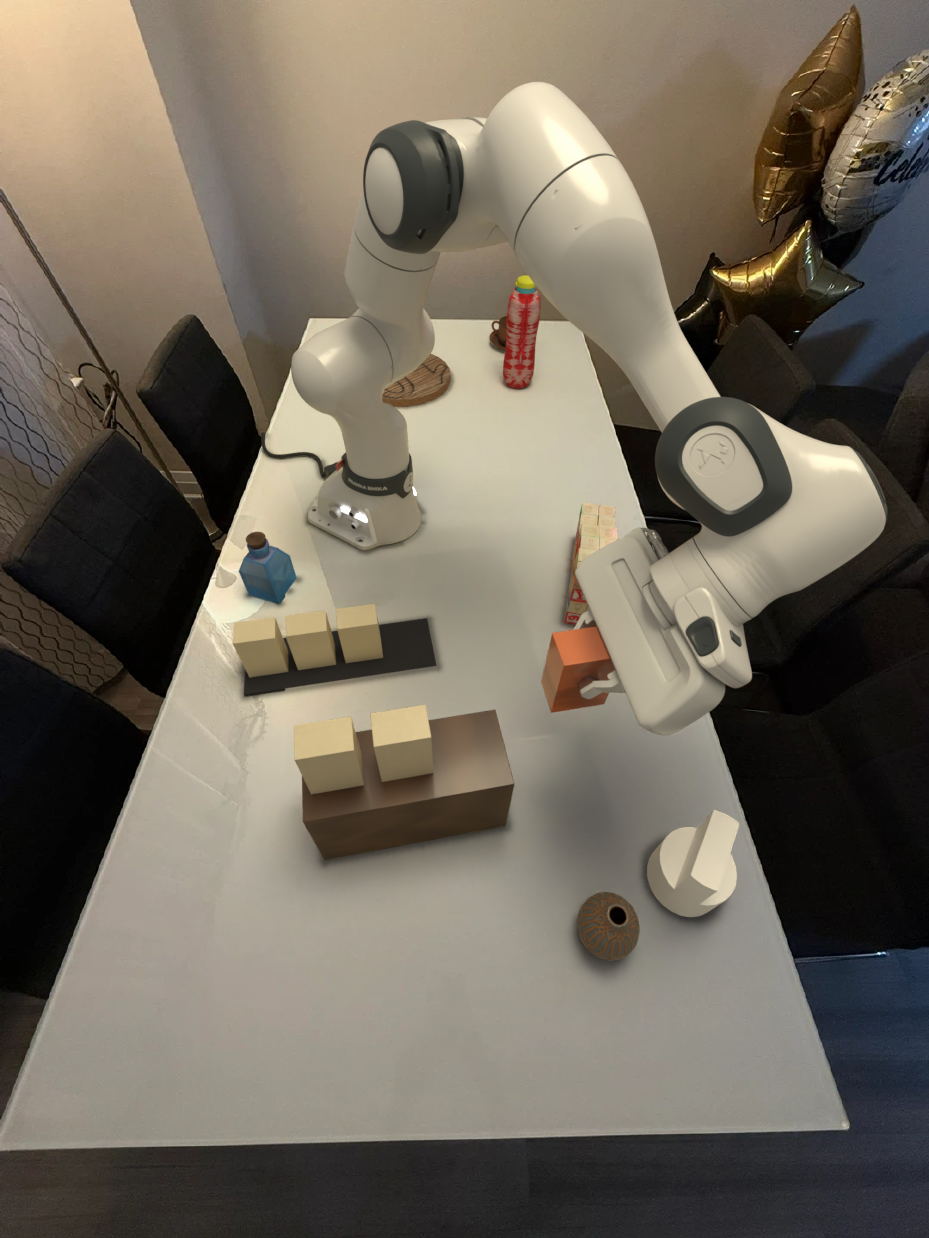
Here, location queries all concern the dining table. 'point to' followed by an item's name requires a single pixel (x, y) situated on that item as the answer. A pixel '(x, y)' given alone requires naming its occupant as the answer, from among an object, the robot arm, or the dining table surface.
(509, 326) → the water bottle
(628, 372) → the robot arm
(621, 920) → the vase
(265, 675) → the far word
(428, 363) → the trivet
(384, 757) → the brown wooden block
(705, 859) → the cylinder with rectangular tab
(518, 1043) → the dining table surface
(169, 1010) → the dining table surface
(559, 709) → the orange wooden block
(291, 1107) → the dining table surface
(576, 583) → the stack of blocks
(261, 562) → the perfume bottle
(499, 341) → the cappuccino
